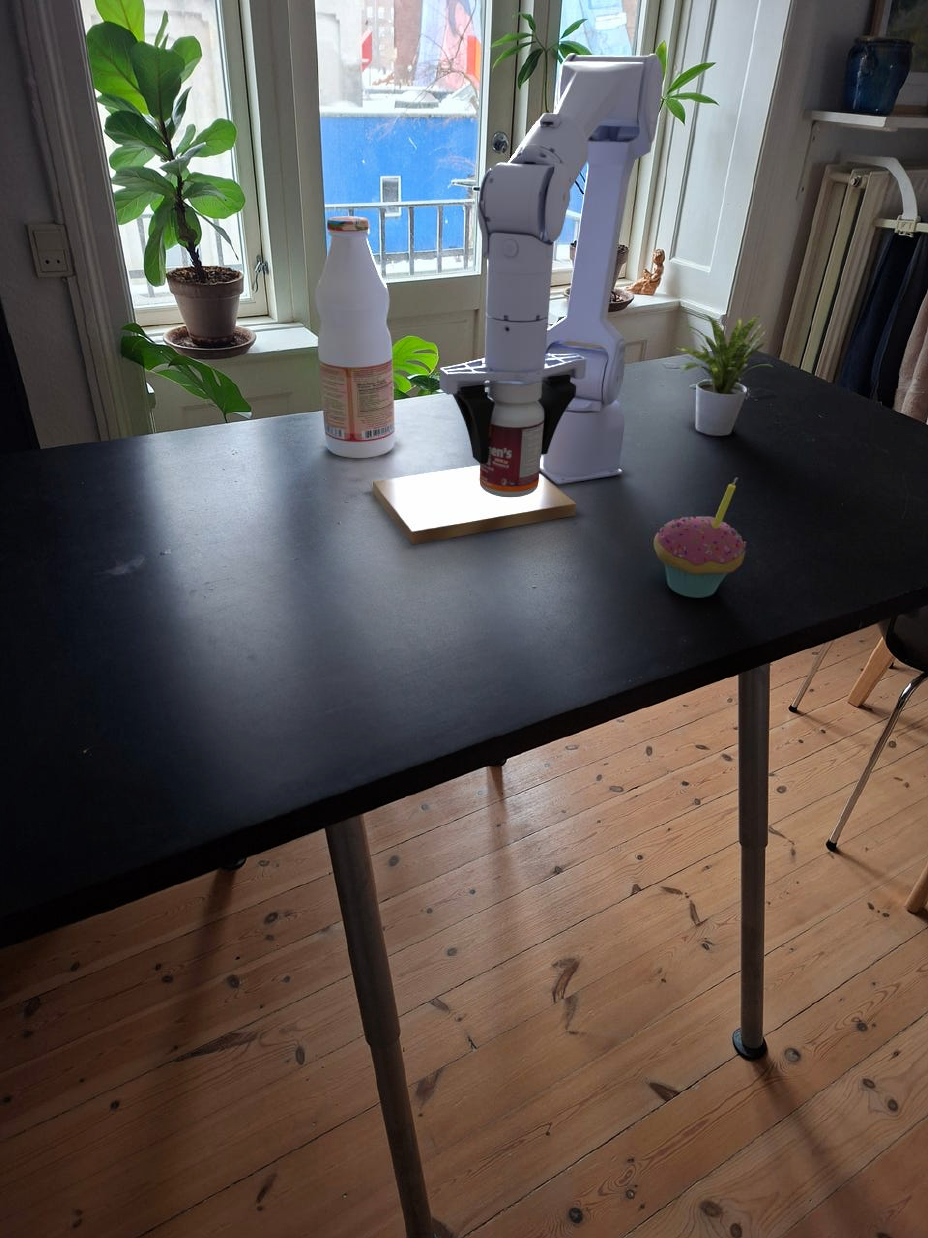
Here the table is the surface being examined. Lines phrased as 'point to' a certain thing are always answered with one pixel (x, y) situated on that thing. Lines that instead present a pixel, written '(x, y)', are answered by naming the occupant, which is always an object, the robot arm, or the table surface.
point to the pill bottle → (514, 440)
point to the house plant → (722, 377)
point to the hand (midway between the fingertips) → (509, 455)
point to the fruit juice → (354, 345)
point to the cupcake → (699, 551)
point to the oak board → (463, 505)
